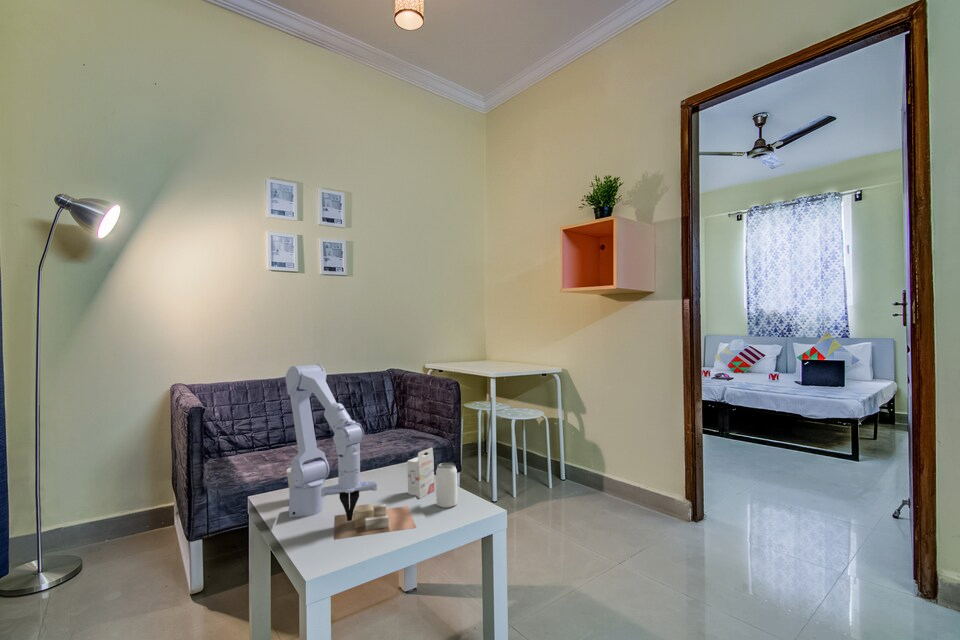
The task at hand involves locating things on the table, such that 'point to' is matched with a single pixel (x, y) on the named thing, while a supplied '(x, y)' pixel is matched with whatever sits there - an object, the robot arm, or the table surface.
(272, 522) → the table surface
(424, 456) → the ink cartridge box
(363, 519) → the maple block
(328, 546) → the table surface
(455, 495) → the can
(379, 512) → the board
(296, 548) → the table surface
